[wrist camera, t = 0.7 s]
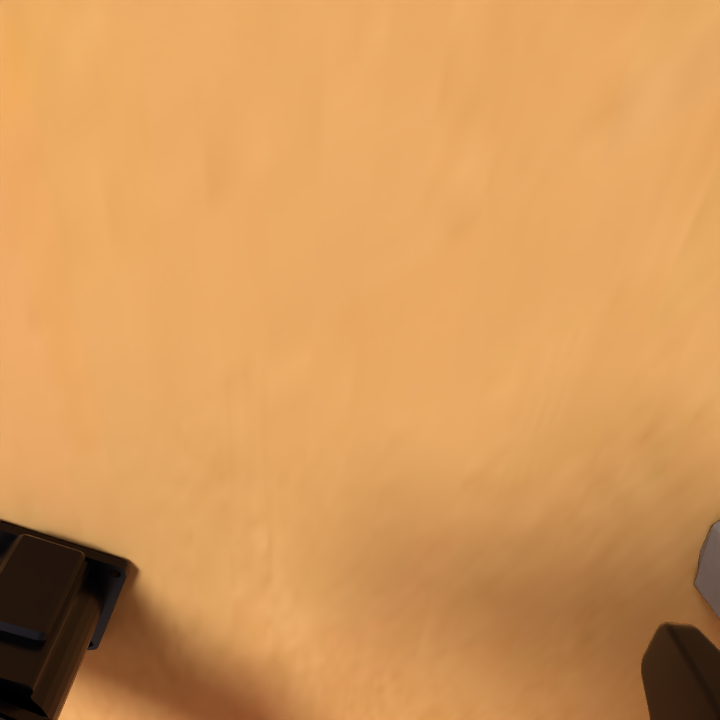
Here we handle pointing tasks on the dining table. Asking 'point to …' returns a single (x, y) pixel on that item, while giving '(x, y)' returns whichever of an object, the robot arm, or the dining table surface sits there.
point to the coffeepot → (710, 569)
